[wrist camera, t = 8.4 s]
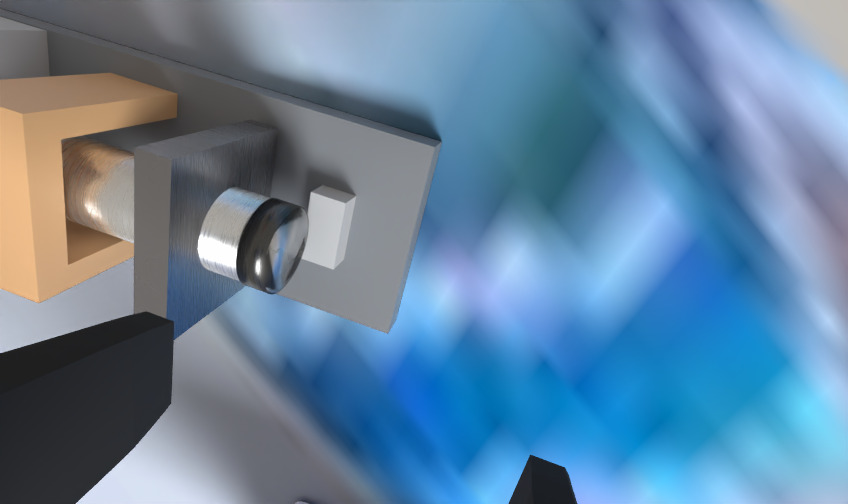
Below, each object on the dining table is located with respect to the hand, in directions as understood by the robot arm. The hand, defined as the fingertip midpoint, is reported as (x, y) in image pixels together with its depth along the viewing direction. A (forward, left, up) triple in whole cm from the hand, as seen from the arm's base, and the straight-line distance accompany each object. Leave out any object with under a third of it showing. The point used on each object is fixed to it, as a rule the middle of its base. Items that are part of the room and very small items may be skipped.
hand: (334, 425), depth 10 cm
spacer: (+11, 0, -8) cm, 14 cm away
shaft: (+10, 0, -8) cm, 13 cm away
